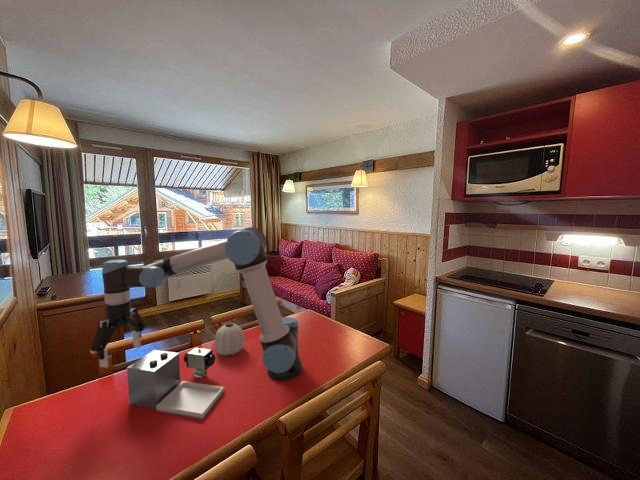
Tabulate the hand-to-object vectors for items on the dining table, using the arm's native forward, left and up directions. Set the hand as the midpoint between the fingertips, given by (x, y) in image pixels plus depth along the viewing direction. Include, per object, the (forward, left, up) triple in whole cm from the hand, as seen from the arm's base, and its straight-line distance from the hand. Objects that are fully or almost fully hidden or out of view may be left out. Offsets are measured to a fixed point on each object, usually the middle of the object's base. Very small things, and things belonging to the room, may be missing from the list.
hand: (121, 356), depth 100 cm
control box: (-14, 0, -14) cm, 20 cm away
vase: (-25, -34, -14) cm, 44 cm away
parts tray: (-29, 0, -14) cm, 32 cm away
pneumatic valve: (-23, -14, -14) cm, 30 cm away
